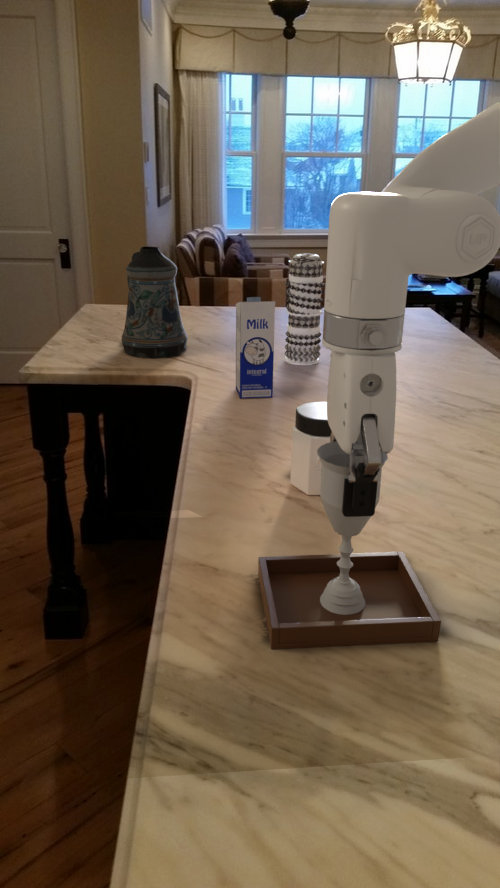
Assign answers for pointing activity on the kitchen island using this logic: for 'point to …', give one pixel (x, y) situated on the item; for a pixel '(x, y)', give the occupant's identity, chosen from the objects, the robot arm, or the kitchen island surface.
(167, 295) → the beer stein
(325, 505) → the chalice
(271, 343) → the milk carton
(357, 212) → the robot arm
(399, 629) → the tray
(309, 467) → the jar
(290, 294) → the decorative candle
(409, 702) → the kitchen island surface
